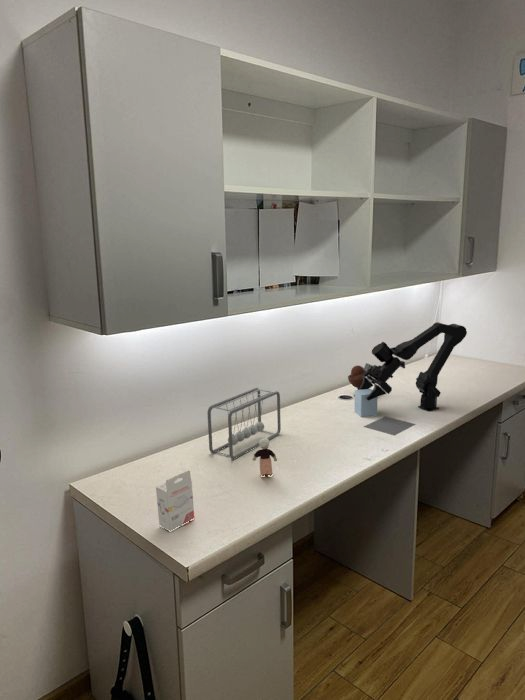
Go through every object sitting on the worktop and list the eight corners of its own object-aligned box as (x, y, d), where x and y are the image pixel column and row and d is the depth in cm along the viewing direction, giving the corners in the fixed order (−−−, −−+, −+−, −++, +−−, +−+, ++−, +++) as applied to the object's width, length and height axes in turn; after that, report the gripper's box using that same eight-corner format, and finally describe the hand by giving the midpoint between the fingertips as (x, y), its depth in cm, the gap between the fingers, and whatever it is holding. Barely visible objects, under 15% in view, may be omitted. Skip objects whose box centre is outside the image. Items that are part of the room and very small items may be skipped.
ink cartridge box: (183, 514, 146) (179, 464, 142) (194, 520, 142) (191, 469, 139) (158, 527, 139) (154, 475, 136) (169, 533, 136) (166, 481, 133)
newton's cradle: (259, 428, 208) (258, 386, 205) (281, 434, 202) (280, 390, 199) (208, 454, 185) (206, 406, 181) (231, 461, 179) (229, 412, 175)
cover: (370, 411, 226) (370, 388, 224) (377, 416, 219) (377, 393, 217) (354, 412, 224) (354, 390, 222) (361, 418, 217) (361, 395, 215)
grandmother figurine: (275, 471, 170) (275, 435, 167) (278, 477, 166) (277, 439, 163) (252, 474, 169) (251, 437, 166) (254, 479, 165) (252, 441, 162)
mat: (385, 417, 218) (385, 416, 218) (415, 425, 208) (415, 424, 208) (363, 427, 207) (363, 426, 207) (394, 436, 197) (394, 435, 197)
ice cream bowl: (371, 399, 241) (372, 368, 238) (347, 399, 243) (347, 367, 240) (371, 393, 251) (372, 362, 248) (348, 392, 253) (348, 362, 250)
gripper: (366, 352, 226) (342, 378, 226) (385, 361, 208) (358, 390, 208) (383, 368, 229) (359, 394, 229) (403, 379, 211) (377, 407, 212)
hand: (362, 396), depth 220 cm, fingers open, 9 cm apart
